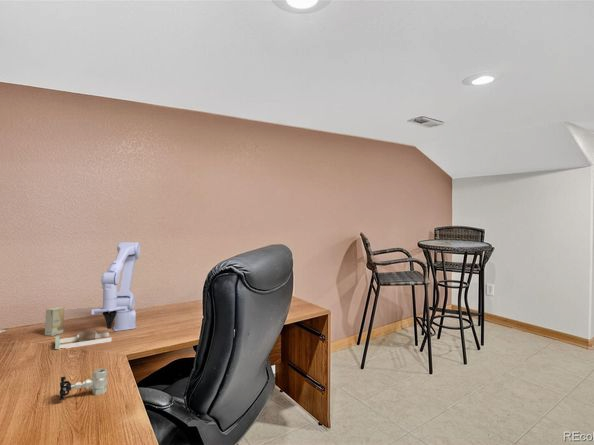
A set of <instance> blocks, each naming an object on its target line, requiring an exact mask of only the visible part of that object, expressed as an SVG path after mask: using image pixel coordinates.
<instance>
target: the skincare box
mask: <svg viewBox="0 0 594 445" xmlns="http://www.w3.org/2000/svg"><path fill="white" fill-rule="evenodd" d="M64 322H65V307H64V306H63V307H62V306H56V307H50V308H46V309H45V323H44V324H45V325H44V327H45V328H44V336H49V337H53V336H58V335H60V334H63V333H64V325H65V324H64Z"/></svg>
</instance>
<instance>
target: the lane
mask: <svg viewBox="0 0 594 445" xmlns="http://www.w3.org/2000/svg"><path fill="white" fill-rule="evenodd" d="M95 332H96V334H95V340H90V341H84V342H79V333H77V334H76V336H75V337H72V336H71V337H67V338H66V337H64V338H61V337H60V335H55V340H54V344H55V345H54V346H55V347H54V350H55V349H59V350H61V349H60V348H66V349H70V348H77V347H84V346H90V345H97V344H104V343H110V342H112V338H113V337H110V332H102V333H98V331H96V330H95ZM70 342H71V343H70ZM64 343H65V344H64Z"/></svg>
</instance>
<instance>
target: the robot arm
mask: <svg viewBox="0 0 594 445" xmlns="http://www.w3.org/2000/svg"><path fill="white" fill-rule="evenodd" d="M116 251H117V255H116V258H115V260H113V261H111V263H110V265H109V267H108V268H107V271H106V272H104V273H102V275H101V277H100V283H101V288H102V289H103V290H102V307H99V308H95V309H93V308H91V310H90V314H91V315H92V316H93V315H98V314H102V315H103V318H104V320H105V323H106V329H107V330H108V329H110V330H111V329H112V330H113V331H114V332H120V331H126V330H127V331H128V330H134V329H136V323H137V322H136V321H137V320H136V319H137V313H136V309H134V308H135V305H136V295H135V294H134V293H133V292H131V290H132V289H131V288H132V283H133V282H132V281H133V276H134V270H135V264H136V261H137V260H139V258H140V254H141V244H140V242H138V241H136V242H135V241H119V242H118V243H117V247H116ZM121 274H122V275H121ZM120 281H121V282H120ZM119 283H120V287H119V291H118V285H119ZM113 322H114V326H112V325H113Z"/></svg>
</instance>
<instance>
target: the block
mask: <svg viewBox="0 0 594 445" xmlns="http://www.w3.org/2000/svg"><path fill="white" fill-rule="evenodd" d="M78 334H79V341H78V342H84V341H90V340H96V338H95V334H96V329H89V330H81V331H78Z"/></svg>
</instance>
